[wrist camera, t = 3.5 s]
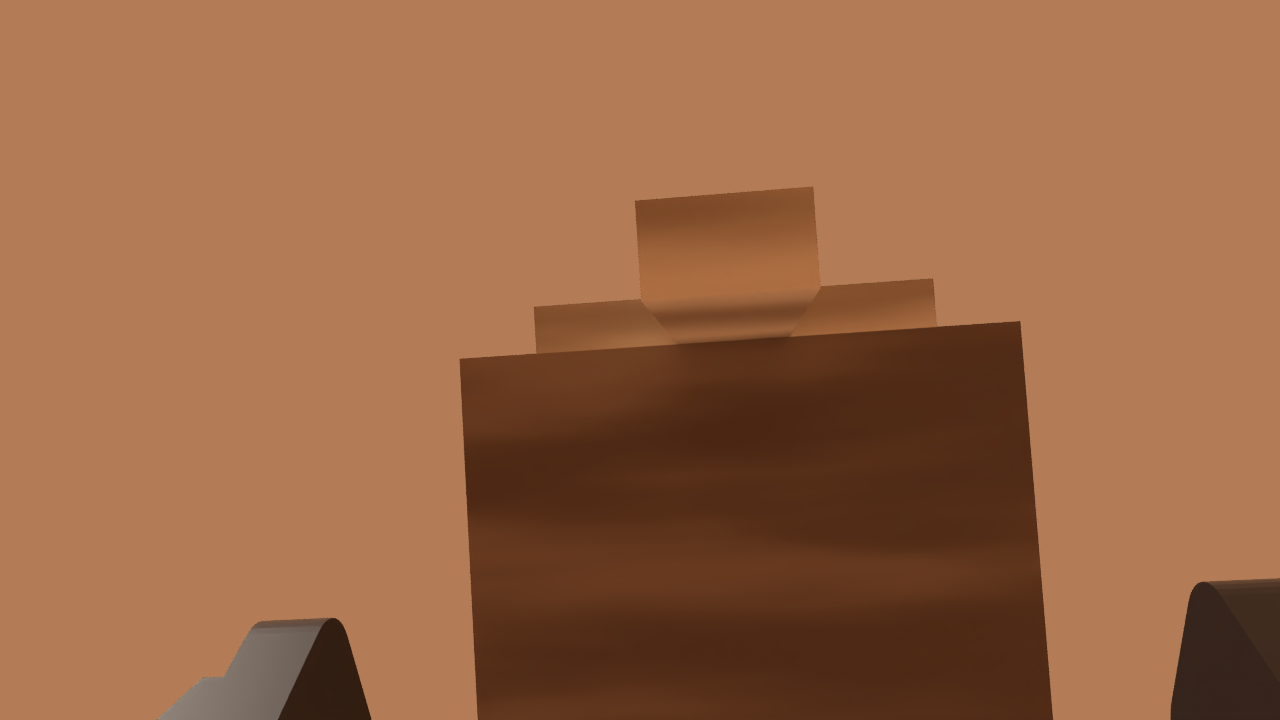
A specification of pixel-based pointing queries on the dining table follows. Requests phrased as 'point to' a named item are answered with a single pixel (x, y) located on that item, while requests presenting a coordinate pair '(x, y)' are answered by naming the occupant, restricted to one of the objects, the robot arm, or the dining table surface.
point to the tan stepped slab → (732, 281)
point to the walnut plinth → (757, 530)
